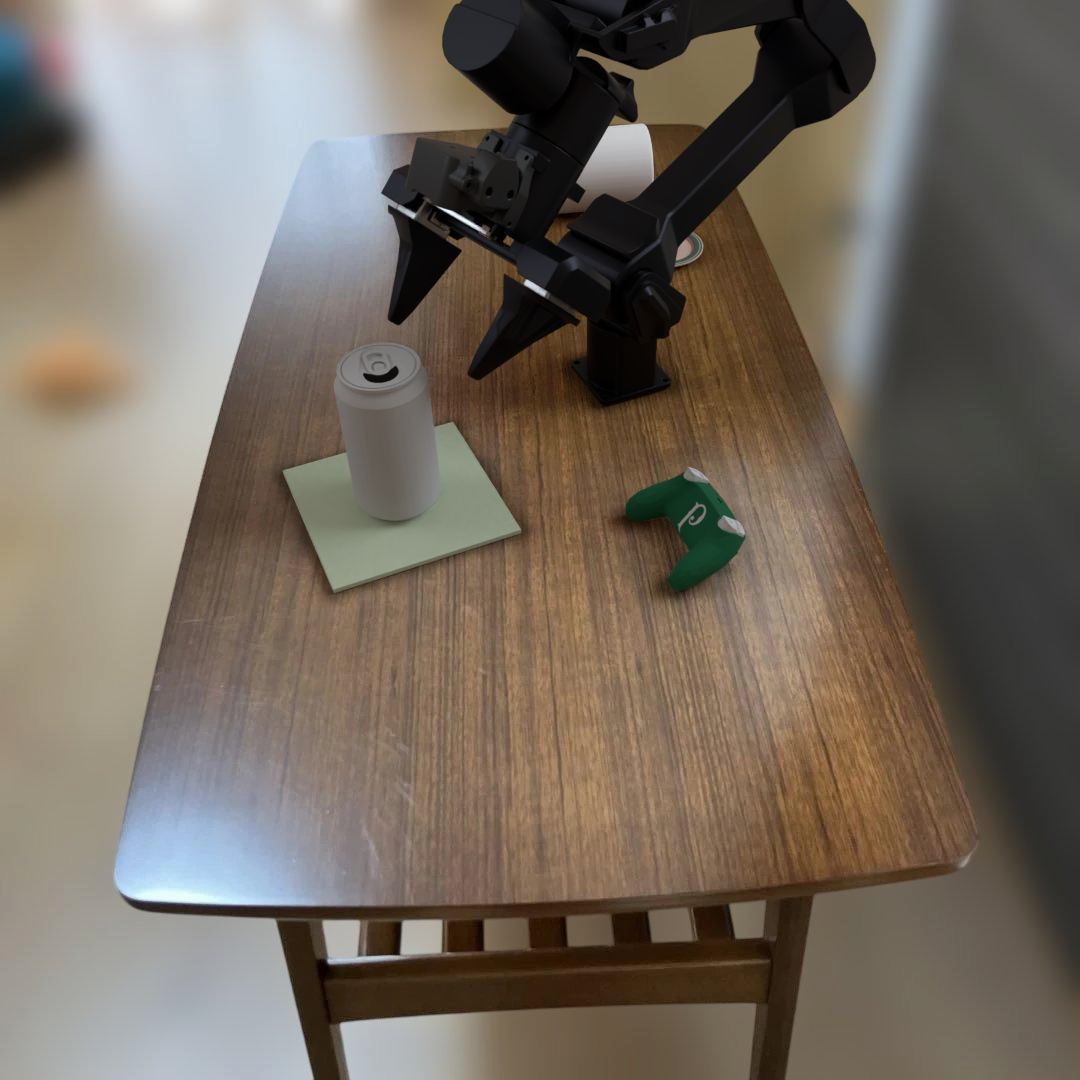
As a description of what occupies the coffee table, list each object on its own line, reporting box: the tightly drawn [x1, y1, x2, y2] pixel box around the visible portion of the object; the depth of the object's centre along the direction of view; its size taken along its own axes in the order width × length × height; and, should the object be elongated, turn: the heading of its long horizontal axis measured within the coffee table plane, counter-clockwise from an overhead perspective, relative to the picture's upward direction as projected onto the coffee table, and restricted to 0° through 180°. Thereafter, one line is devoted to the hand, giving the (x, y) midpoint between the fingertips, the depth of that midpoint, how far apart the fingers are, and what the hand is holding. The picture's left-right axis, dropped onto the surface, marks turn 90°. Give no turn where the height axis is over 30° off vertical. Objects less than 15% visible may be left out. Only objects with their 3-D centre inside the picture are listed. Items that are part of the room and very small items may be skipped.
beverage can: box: [333, 341, 441, 521], centre depth 79 cm, size 6×6×12 cm
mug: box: [558, 123, 655, 215], centre depth 115 cm, size 12×10×8 cm
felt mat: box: [282, 421, 522, 594], centre depth 83 cm, size 14×14×1 cm
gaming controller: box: [624, 466, 747, 593], centre depth 78 cm, size 9×4×6 cm
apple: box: [674, 231, 704, 268], centre depth 107 cm, size 8×8×6 cm
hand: (431, 349), depth 77 cm, fingers open, 9 cm apart
